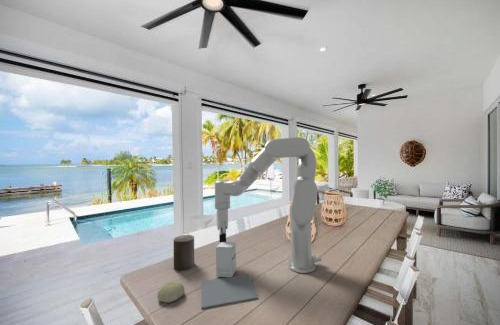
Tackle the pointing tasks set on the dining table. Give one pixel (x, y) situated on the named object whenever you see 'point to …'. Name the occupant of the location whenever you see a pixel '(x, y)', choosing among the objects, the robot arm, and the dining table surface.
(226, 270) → the supplement box
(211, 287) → the charcoal mat
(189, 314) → the dining table surface
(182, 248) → the pillar candle
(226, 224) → the robot arm
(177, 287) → the sea urchin shell
